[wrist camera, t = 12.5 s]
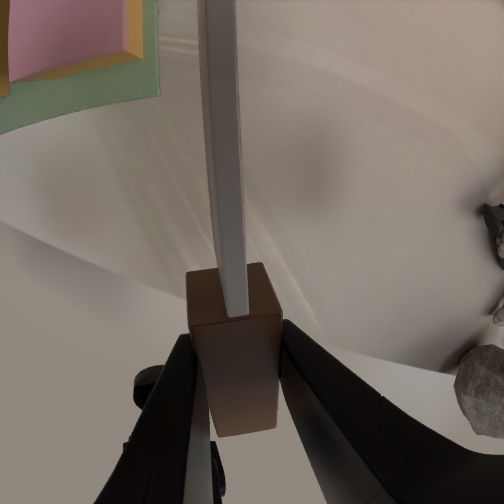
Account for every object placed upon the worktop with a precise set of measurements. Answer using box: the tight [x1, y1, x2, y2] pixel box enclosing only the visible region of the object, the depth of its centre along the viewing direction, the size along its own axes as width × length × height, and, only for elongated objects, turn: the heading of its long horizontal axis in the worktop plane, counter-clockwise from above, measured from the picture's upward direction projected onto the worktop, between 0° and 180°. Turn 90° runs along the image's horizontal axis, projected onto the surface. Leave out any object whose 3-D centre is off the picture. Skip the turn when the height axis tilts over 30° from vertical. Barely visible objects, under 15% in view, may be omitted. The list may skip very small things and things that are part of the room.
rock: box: [454, 344, 504, 439], centre depth 32 cm, size 15×18×15 cm
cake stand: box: [0, 0, 161, 135], centre depth 9 cm, size 10×9×6 cm
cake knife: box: [186, 0, 283, 437], centre depth 6 cm, size 14×2×2 cm, turn 2°
